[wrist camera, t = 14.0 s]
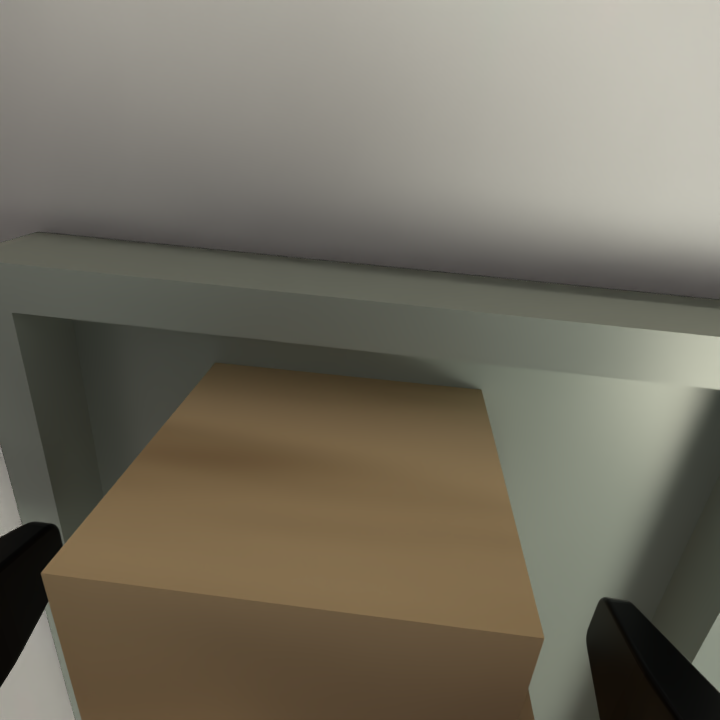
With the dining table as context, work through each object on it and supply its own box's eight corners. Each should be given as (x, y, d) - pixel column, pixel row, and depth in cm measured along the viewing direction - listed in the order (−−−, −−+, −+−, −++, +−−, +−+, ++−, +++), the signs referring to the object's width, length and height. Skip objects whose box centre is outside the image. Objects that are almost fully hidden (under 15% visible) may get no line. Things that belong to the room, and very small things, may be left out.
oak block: (444, 584, 11) (463, 883, 7) (227, 557, 12) (111, 827, 7) (481, 389, 9) (544, 639, 5) (215, 362, 10) (40, 572, 5)
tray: (818, 309, 9) (923, 357, 7) (577, 802, 16) (599, 892, 14) (37, 231, 10) (-51, 256, 8) (134, 735, 16) (99, 811, 15)
